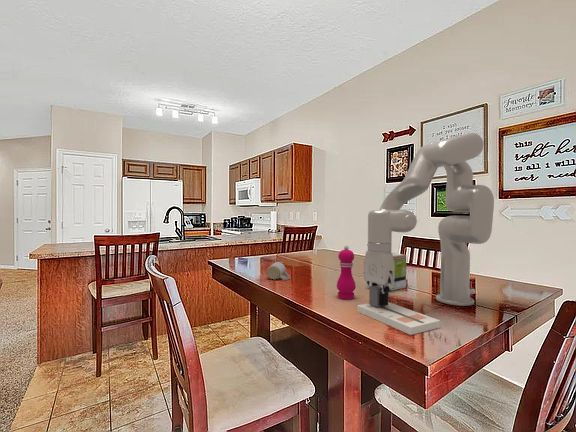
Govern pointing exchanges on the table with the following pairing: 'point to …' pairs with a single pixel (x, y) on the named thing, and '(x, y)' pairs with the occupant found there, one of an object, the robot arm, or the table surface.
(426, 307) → the table surface
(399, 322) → the fader console
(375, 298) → the fader
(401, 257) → the tea box
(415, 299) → the table surface
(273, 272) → the ceramic mug
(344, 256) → the pepper mill
